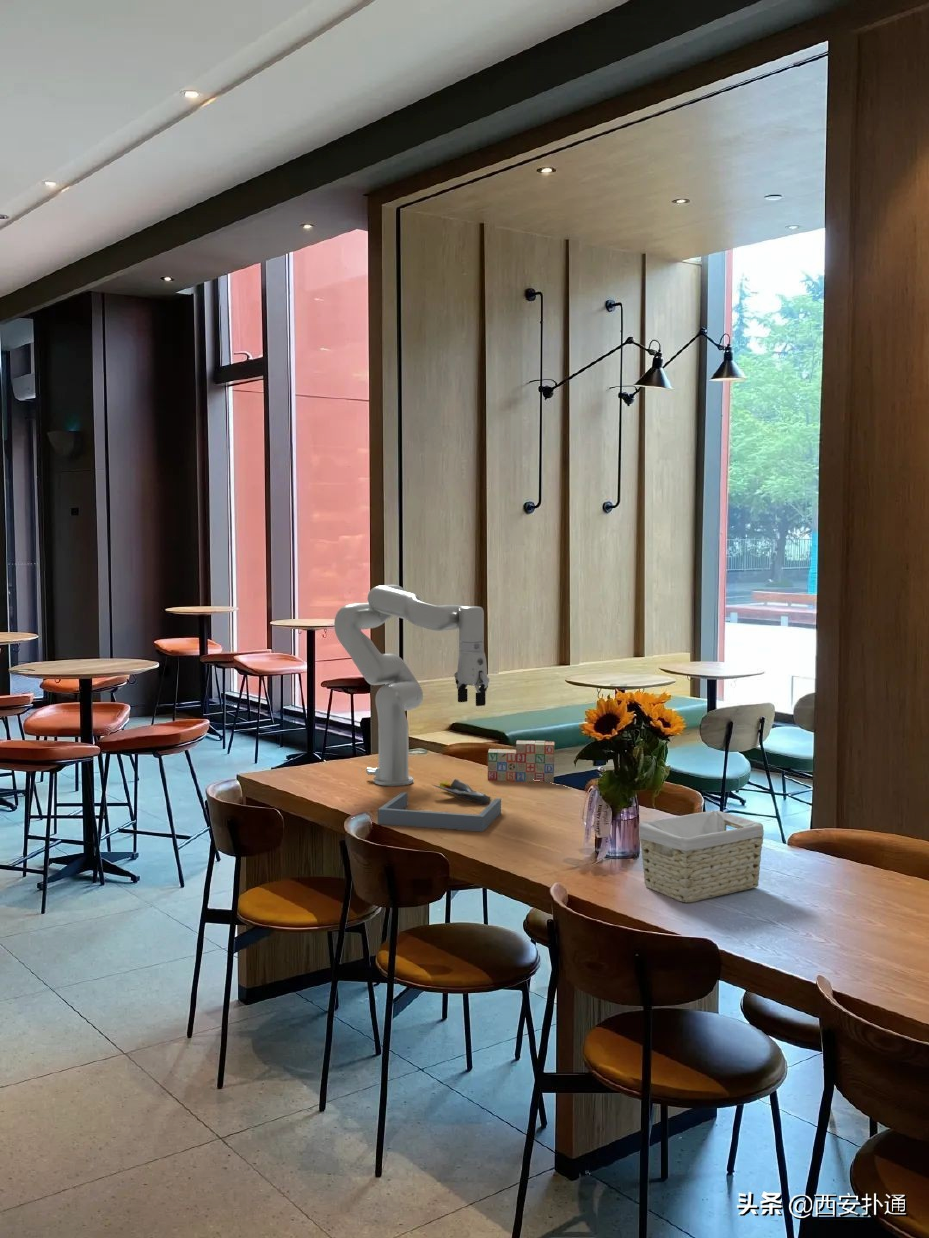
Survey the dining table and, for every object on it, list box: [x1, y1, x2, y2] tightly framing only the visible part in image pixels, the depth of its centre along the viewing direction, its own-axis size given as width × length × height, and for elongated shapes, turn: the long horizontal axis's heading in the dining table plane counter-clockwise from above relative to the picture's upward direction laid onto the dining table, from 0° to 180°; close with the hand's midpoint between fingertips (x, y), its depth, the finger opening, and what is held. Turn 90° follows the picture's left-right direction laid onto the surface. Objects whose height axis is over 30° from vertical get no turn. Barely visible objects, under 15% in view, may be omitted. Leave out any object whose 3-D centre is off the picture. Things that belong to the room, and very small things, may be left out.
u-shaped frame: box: [377, 791, 502, 832], centre depth 303 cm, size 29×21×4 cm
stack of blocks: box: [487, 740, 555, 783], centre depth 353 cm, size 21×6×12 cm, turn 85°
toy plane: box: [432, 778, 492, 806], centre depth 327 cm, size 25×17×5 cm
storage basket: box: [638, 809, 765, 903], centre depth 242 cm, size 24×16×15 cm
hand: (471, 703), depth 331 cm, fingers open, 9 cm apart
